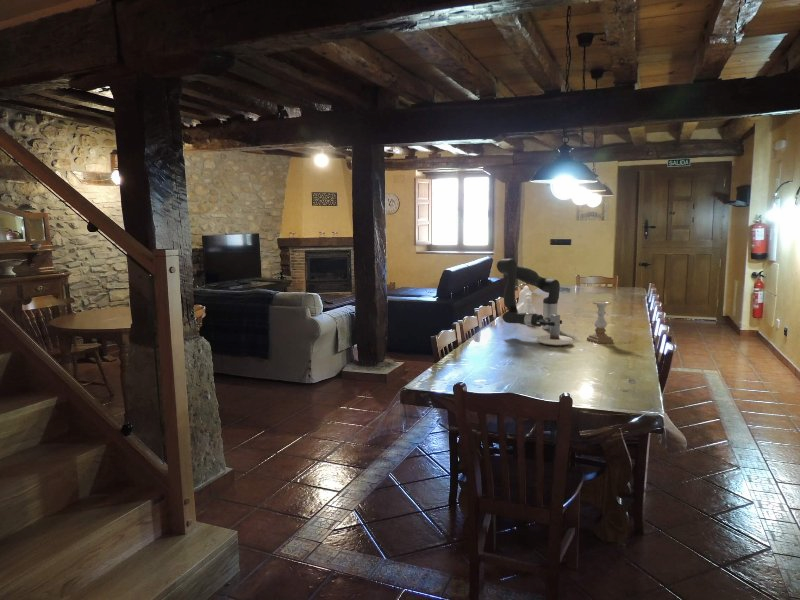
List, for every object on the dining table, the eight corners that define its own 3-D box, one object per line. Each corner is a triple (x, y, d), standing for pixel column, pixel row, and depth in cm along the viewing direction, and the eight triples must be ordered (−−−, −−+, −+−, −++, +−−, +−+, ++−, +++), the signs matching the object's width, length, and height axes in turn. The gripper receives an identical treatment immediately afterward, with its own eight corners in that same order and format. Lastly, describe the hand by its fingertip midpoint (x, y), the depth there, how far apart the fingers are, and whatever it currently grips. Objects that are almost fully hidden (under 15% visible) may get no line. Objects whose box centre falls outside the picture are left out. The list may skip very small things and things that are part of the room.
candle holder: (586, 340, 338) (588, 301, 335) (601, 339, 341) (603, 300, 338) (598, 344, 328) (599, 303, 324) (613, 342, 331) (615, 302, 328)
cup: (550, 337, 333) (551, 314, 331) (560, 337, 331) (560, 314, 329) (549, 339, 328) (549, 315, 326) (558, 339, 326) (559, 316, 324)
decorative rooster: (514, 317, 415) (515, 284, 411) (536, 318, 411) (537, 284, 407) (511, 323, 391) (512, 288, 388) (534, 324, 387) (536, 289, 383)
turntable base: (544, 340, 339) (544, 337, 339) (568, 342, 333) (568, 339, 333) (540, 345, 326) (540, 342, 326) (565, 347, 321) (565, 344, 320)
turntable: (540, 336, 343) (540, 333, 342) (574, 339, 335) (574, 336, 334) (534, 343, 325) (534, 340, 324) (570, 346, 317) (570, 343, 316)
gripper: (527, 315, 332) (552, 318, 321) (539, 312, 342) (564, 315, 331) (527, 327, 333) (551, 331, 322) (539, 324, 343) (563, 327, 332)
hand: (558, 323), depth 327 cm, fingers open, 8 cm apart
